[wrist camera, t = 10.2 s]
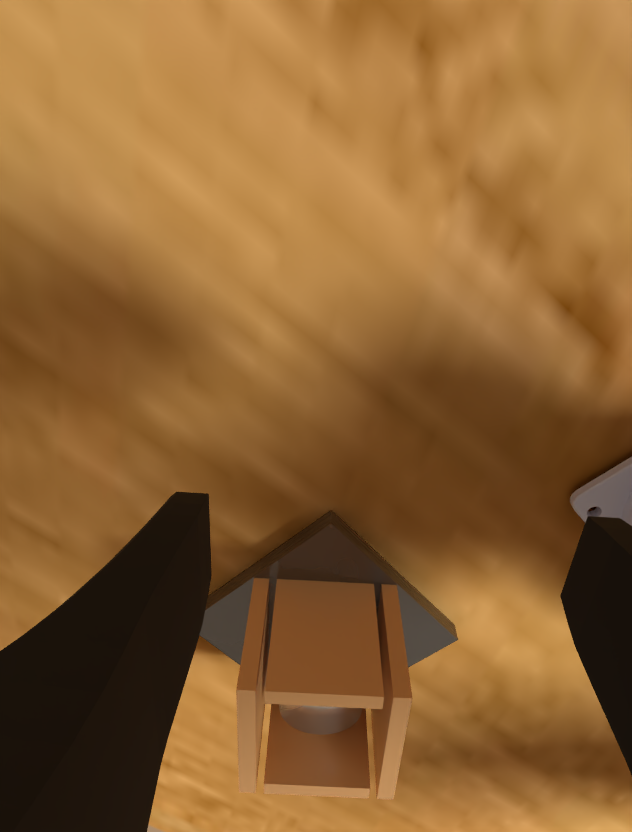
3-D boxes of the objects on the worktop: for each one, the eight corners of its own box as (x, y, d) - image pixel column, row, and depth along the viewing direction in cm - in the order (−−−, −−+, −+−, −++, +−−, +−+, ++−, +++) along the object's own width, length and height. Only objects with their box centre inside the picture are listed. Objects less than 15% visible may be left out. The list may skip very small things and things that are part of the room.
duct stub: (454, 624, 26) (475, 717, 22) (314, 703, 28) (312, 798, 24) (331, 510, 23) (331, 593, 19) (189, 609, 25) (164, 699, 22)
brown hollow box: (382, 680, 26) (393, 799, 22) (254, 674, 26) (239, 792, 22) (396, 585, 23) (412, 698, 19) (253, 578, 23) (236, 689, 19)
